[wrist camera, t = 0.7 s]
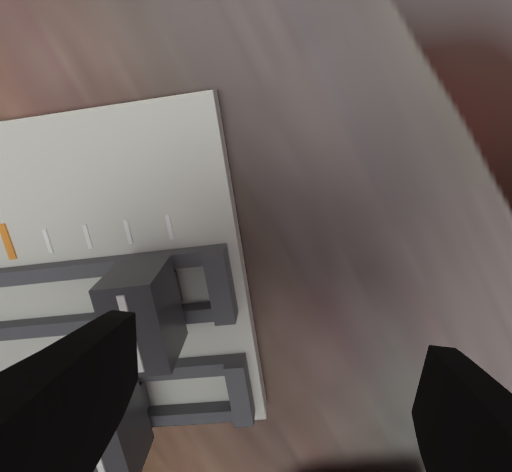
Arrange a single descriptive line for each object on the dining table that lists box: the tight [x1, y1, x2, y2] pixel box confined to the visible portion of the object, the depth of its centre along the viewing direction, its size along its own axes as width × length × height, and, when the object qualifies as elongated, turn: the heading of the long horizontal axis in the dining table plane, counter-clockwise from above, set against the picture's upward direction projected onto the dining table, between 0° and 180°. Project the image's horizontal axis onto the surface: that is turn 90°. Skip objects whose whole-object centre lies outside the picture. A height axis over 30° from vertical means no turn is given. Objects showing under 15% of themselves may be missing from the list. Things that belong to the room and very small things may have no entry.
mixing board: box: [0, 90, 267, 428], centre depth 20 cm, size 16×17×2 cm
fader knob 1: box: [88, 255, 188, 377], centre depth 18 cm, size 2×4×4 cm, turn 8°
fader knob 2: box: [94, 380, 154, 472], centre depth 20 cm, size 2×4×4 cm, turn 8°
